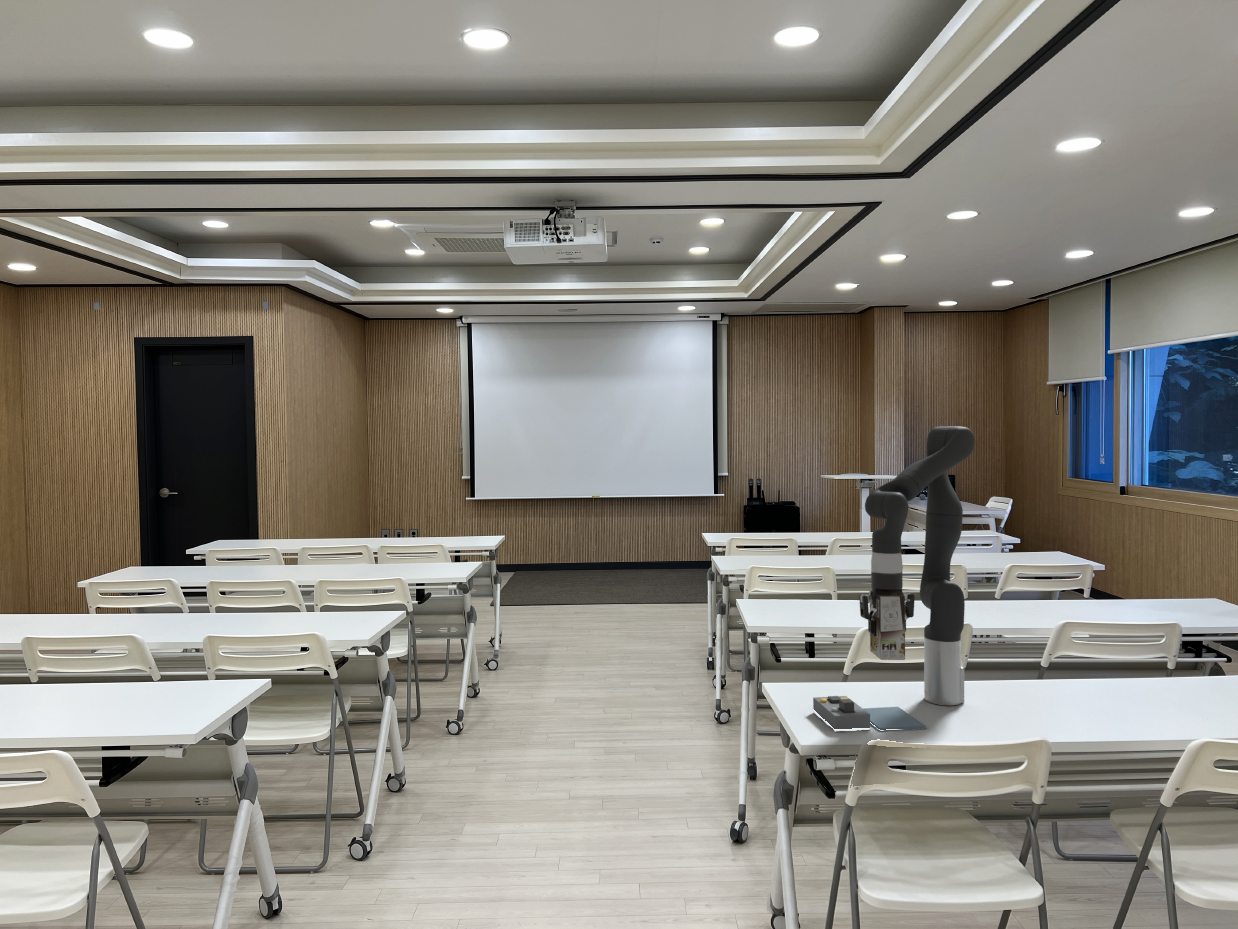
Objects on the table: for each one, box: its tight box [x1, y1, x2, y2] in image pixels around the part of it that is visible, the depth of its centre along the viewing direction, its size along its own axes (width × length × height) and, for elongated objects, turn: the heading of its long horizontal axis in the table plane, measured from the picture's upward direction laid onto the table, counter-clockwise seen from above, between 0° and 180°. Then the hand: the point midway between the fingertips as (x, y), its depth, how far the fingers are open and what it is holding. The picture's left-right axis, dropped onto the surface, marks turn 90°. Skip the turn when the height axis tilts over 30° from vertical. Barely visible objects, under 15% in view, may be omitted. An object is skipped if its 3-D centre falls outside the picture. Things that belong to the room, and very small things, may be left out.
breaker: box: [839, 697, 854, 713], centre depth 186 cm, size 3×3×3 cm
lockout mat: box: [862, 706, 927, 730], centre depth 190 cm, size 12×14×1 cm
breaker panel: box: [812, 695, 871, 729], centre depth 189 cm, size 14×9×5 cm, turn 7°
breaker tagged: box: [827, 695, 841, 704], centre depth 192 cm, size 3×3×3 cm
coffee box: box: [868, 590, 906, 661], centre depth 190 cm, size 9×6×16 cm
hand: (887, 634), depth 190 cm, fingers closed on coffee box, 7 cm apart
